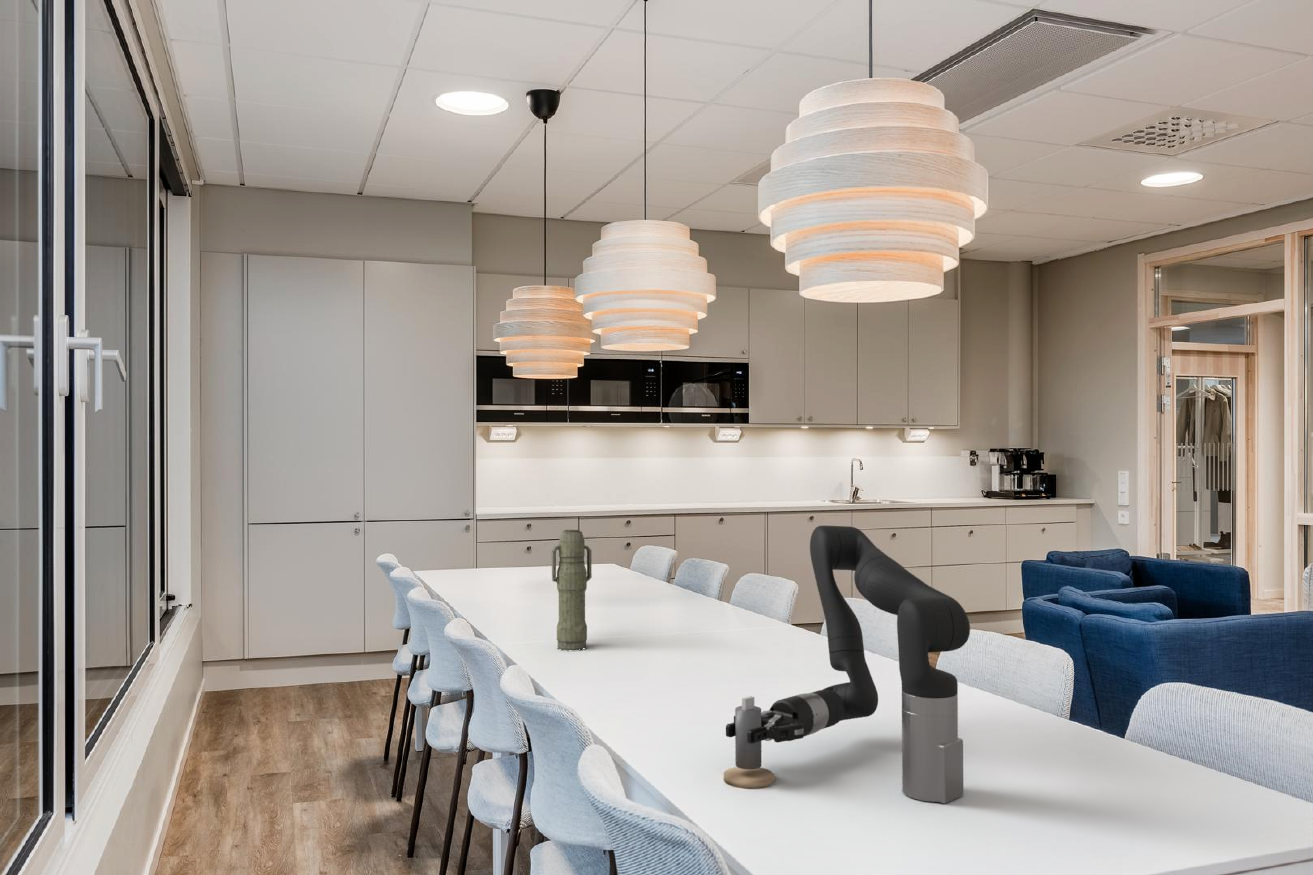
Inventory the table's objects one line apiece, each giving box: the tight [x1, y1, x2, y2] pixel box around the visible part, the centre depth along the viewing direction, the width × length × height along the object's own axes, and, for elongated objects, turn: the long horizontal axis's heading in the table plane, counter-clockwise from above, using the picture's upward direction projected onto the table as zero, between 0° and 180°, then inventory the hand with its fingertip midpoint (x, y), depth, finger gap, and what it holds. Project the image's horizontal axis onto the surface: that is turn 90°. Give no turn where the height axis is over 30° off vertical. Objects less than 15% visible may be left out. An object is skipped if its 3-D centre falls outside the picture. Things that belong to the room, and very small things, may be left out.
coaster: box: [723, 766, 775, 789], centre depth 178 cm, size 9×9×1 cm
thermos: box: [551, 529, 593, 651], centre depth 298 cm, size 9×12×35 cm
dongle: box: [734, 695, 762, 769], centre depth 178 cm, size 5×5×12 cm
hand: (738, 734), depth 176 cm, fingers closed on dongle, 4 cm apart
